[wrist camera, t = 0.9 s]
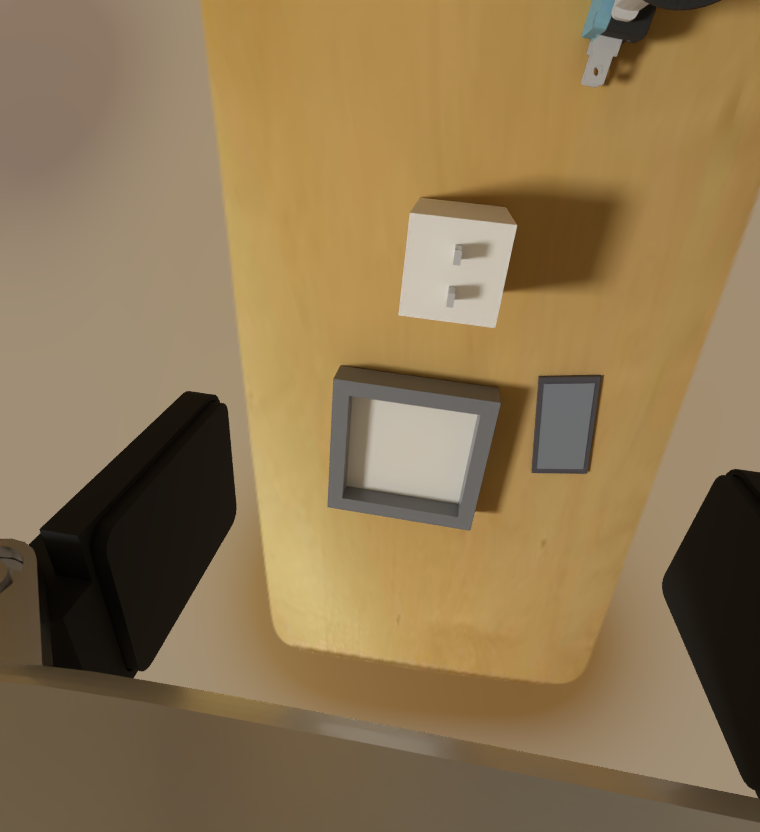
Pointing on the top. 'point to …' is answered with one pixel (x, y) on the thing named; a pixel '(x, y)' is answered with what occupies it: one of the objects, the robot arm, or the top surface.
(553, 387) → the phone
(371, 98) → the top surface
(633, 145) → the top surface
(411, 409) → the dock
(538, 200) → the top surface
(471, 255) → the charger
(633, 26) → the push button
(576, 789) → the robot arm
